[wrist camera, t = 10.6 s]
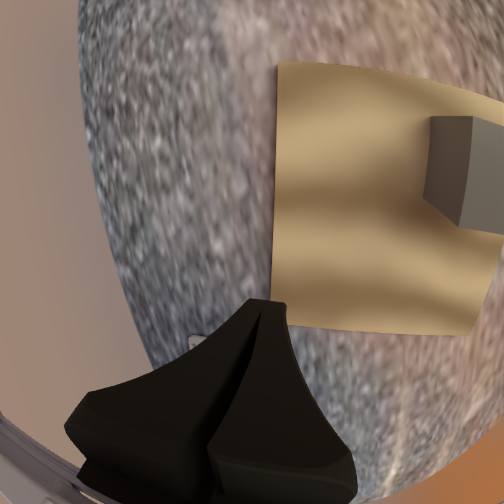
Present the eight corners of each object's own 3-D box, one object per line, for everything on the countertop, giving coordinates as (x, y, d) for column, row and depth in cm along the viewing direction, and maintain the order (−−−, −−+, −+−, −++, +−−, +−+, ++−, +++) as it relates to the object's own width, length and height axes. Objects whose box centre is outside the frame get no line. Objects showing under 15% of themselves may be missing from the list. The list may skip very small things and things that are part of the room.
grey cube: (486, 209, 16) (530, 240, 11) (422, 197, 17) (458, 227, 12) (496, 134, 13) (546, 144, 8) (431, 116, 14) (473, 116, 9)
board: (466, 329, 20) (469, 335, 20) (270, 316, 23) (269, 322, 23) (515, 110, 13) (521, 110, 12) (279, 64, 16) (277, 61, 15)
